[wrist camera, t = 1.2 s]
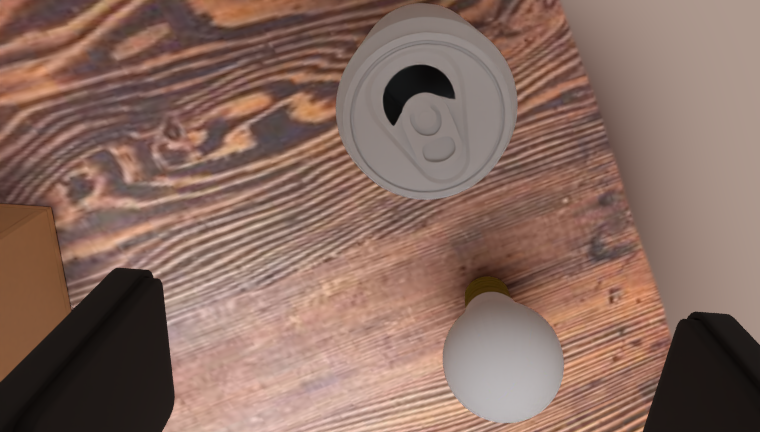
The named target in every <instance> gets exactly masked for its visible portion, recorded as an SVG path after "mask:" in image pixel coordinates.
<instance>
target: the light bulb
mask: <svg viewBox="0 0 760 432" xmlns="http://www.w3.org/2000/svg"><path fill="white" fill-rule="evenodd" d="M465 308H466V309H465V312H464V313H463V314H462V315H461V316H460V317H459V318H458V319H457V320H456V321H455V322H454V324H453V325H452V327H451V329H450V330H449V332H448V335H447V337H446V340H445V343H444V349H443V368H444V373H445V377H446V380H447V382H448V385H449V387H450V389H451V390H452V392H453V394H454V395H455V397H456V398H457V399H458V400H459V401H460V402H461V404H462V405H463V406H464V407H466V408H467V409H468V410H469V411H471V412H472V413H474V414H476V415H477V416H479V417H481V418H484V419H486V420H489V421H493V422H499V423H514V422H520V421H524V420H527V419H529V418H531V417H533V416H535V415H537V414H539V413H540V412H541V411H543V410H544V409H545V408H546V407H547V406H548V405H549V404H550V403H551V401H552V400H553V399H554V397H555V396H556V394H557V392H558V390H559V388H560V385H561V382H562V378H563V371H564V359H563V352H562V348H561V345H560V342H559V339H558V337H557V335H556V334H555V332H554V330H553V328H552V327H551V326H550V325H549V323H548V322H547V321H546V320H545V319H544V318H543V317H542V316H541V315H539V314H538V313H537V312H535V311H534V310H532V309H531V308H529V307H527V306H525V305H522V304H520V303H516V302H514V301H513V300H512V299H511V296H510V294H509V291H508V289H507V287H506V285H505V284H504V283H503V282H502V281H501V280H499V279H497V278H495V277H489V276H485V277H480V278H477V279H475V280H474V281H472V282H471V283H470V284H469V285H468V287H467V288H466V291H465Z"/></svg>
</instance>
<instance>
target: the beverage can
mask: <svg viewBox="0 0 760 432" xmlns="http://www.w3.org/2000/svg"><path fill="white" fill-rule="evenodd" d="M517 106H518V105H517V92H516V86H515V82H514V78H513V75H512V73H511V70H510V68H509V66H508V64H507V62H506V60H505V58H504V57H503V56H502V54H501V53H500V51H499V50H498V49H497V47H496V46H495V45H494V44H493V43H492V42H491V41H490V40H489V39H488V38H486V37H485V36H484V35H483V34H482V33H480V32H479V31H478V30H477V29H476V28H474V27H473V26H472V25H471V24H469V23H468V22H467V21H466V20H465V19H463V18H462V17H461V16H460V15H458V14H457V13H455V12H454V11H452V10H450V9H448V8H445V7H443V6H440V5H435V4H427V3H415V4H410V5H405V6H402V7H400V8H397V9H395V10H393V11H391V12H390V13H388V14H387V15H385V16H384V17H383V18H382V19H380V20H379V21H378V22H377V23H376V24H375V26H374V27H373V28H372V29H371V31H370V32H369V34H368V35H367V36H366V38H365V39H364V41H363V42H362V44H361V45H360V46H359V48H358V49H357V51H356V52H355V54H354V55H353V56H352V58H351V59H350V61H349V63H348V64H347V66H346V68H345V70H344V72H343V75H342V77H341V80H340V83H339V87H338V92H337V99H336V120H337V125H338V130H339V134H340V137H341V140H342V142H343V145H344V147H345V149H346V151H347V152H348V154H349V156H350V157H351V159H352V160H353V161H354V163H355V164H356V165H357V166H358V167H359V168H360V170H361V171H362V172H363V173H365V174H366V175H367V176H368V177H369V178H370V179H371V180H372V181H373V182H375V183H376V184H377V185H379V186H381V187H382V188H384V189H386V190H388V191H390V192H392V193H394V194H397V195H400V196H403V197H407V198H412V199H423V200H431V199H440V198H445V197H449V196H452V195H455V194H458V193H460V192H463V191H465V190H467V189H468V188H470V187H472V186H473V185H475V184H476V183H478V182H479V181H480V180H482V179H483V178H484V177H485V176H486V175H487V174H488V173H489V172H490V171H491V170H492V169H493V167H494V166H495V165H496V163H497V162H498V160H499V159H500V157H501V156H502V154H503V153H504V151H505V150H506V148H507V146H508V144H509V142H510V139H511V137H512V134H513V131H514V128H515V123H516V118H517Z"/></svg>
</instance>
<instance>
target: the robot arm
mask: <svg viewBox="0 0 760 432" xmlns="http://www.w3.org/2000/svg"><path fill="white" fill-rule="evenodd" d="M174 399H175V396H174V385H173V376H172V367H171V358H170V348H169V339H168V330H167V321H166V312H165V303H164V294H163V286H162V282H161V280H160V279H156V278H153V275H152V273H151V272H150V271H149V270H142V269H128V268H115V269H114V270H112V271H111V272H110V273H109V274H108V275H107V276H106V277H105V278H104V279H103V280H102V281H101V282H100V283H99V284H98V285H97V286H96V287H95V288H94V289H93V290H92V291H91V292H90V293H89V294H88V295H87V296H86V297H85V298H84V299H83V300H82V301H81V302H80V303H79V304H78V305H77V306H76V307H75V308H74V309H73V310H72V311H71V312H70V313H69V314H68V315H67V316H66V317H65V318H64V319H63V320H62V321H61V322H60V323H59V324H58V325H57V326H56V327H55V328H54V329H53V330H52V331H51V332H50V333H49V334H48V335H47V336H46V337H45V338H44V339H43V340H42V341H41V342H40V343H39V344H38V345H37V346H36V347H35V348H34V349H33V350H32V351H31V352H30V353H29V354H28V355H27V356H26V357H25V358H24V359H23V360H22V361H21V362H20V363H19V364H18V365H17V366H16V367H15V368H14V369H13V370H12V371H11V372H10V373H9V374H8V375H7V376H6V377H5V378H4V379H3V380H2V381H1V382H0V432H162V431H163V429H164V427H165V425H166V423H167V421H168V419H169V418H170V415H171V413H172V410H173V406H174ZM643 432H760V345H759V344H758V343H757V342H756V341H755V340H754V339H753V337H751V335H750V334H749V333H748V332H747V331H746V330H745V329H744V328H743V327H742V326H741V325H740V324H739V323H738V322H737V321H736V320H735V318H733V317H732V316H730V315H728V314H719V313H706V312H693V313H691V314H690V315H689V316H688V318H687V319H682V320H680V322H679V323H678V325H677V327H676V330H675V333H674V336H673V339H672V343H671V346H670V349H669V352H668V355H667V358H666V361H665V364H664V367H663V370H662V374H661V377H660V380H659V383H658V386H657V389H656V392H655V395H654V398H653V402H652V405H651V408H650V411H649V414H648V417H647V420H646V423H645V426H644V430H643Z"/></svg>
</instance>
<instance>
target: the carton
mask: <svg viewBox="0 0 760 432" xmlns="http://www.w3.org/2000/svg"><path fill="white" fill-rule="evenodd" d="M70 312H71V308H70V303H69V298H68V292H67V287H66V282H65V277H64V272H63V266H62V261H61V256H60V251H59V246H58V240H57V235H56V230H55V225H54V220H53V214H52V209H51V207H42V206H28V205H13V204H0V382H1V381H2V380H3V379H4V378H5V377H6V376H7V375H8V374H9V373H10V372H11V371H12V370H13V369H14V368H15V367H16V366H17V365H18V364H19V363H20V362H21V361H22V360H23V359H24V358H25V357H26V356H27V355H28V354H29V353H30V352H31V351H32V350H33V349H34V348H35V347H36V346H37V345H38V344H39V343H40V342H41V341H42V340H43V339H44V338H45V337H46V336H47V335H48V334H49V333H50V332H51V331H52V330H53V329H54V328H55V327H56V326H57V325H58V324H59V323H60V322H61V321H62V320H63V319H64V318H65V317H66V316H67V315H68V314H69V313H70Z"/></svg>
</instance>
